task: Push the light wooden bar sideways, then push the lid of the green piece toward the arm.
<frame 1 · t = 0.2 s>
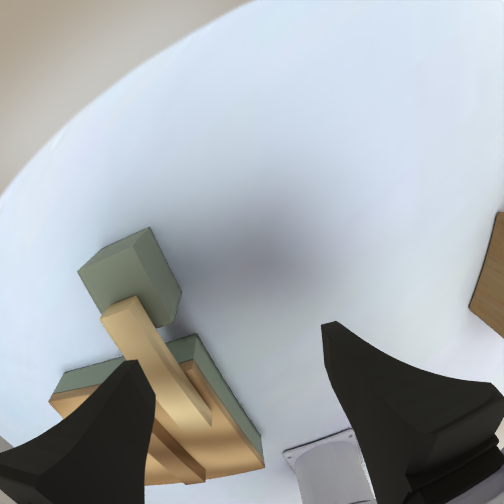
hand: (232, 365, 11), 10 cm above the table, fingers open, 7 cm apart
green piece: (163, 411, 25), on the table
lid: (157, 447, 20), point 4 cm above the table, slide at 0.0 cm
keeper: (140, 270, 20), on the table
light wooden bar: (161, 374, 17), point 5 cm above the table, slide at 0.0 cm
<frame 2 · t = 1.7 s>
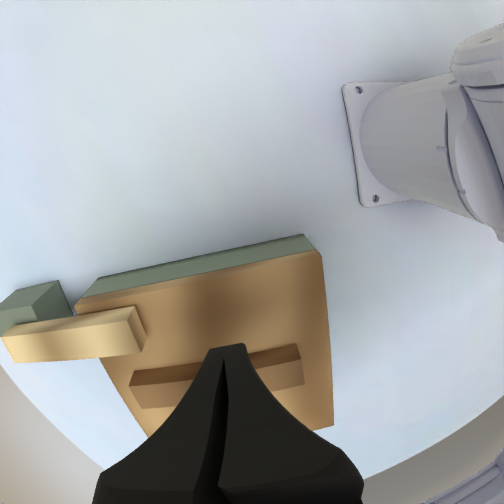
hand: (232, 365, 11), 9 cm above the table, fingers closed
green piece: (220, 346, 21), on the table
lid: (219, 386, 17), point 4 cm above the table, slide at 0.0 cm
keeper: (45, 308, 20), on the table
light wooden bar: (64, 339, 15), point 5 cm above the table, slide at 0.0 cm
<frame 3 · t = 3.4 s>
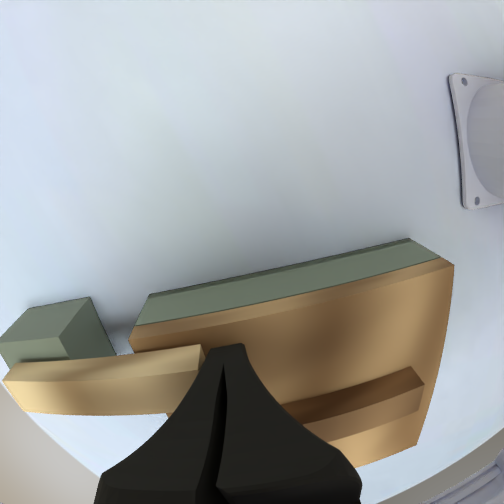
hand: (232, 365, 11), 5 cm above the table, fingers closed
green piece: (301, 371, 17), on the table
lid: (319, 424, 13), point 4 cm above the table, slide at 0.0 cm
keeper: (69, 332, 15), on the table
light wooden bar: (93, 387, 11), point 5 cm above the table, slide at 1.1 cm, touching gripper
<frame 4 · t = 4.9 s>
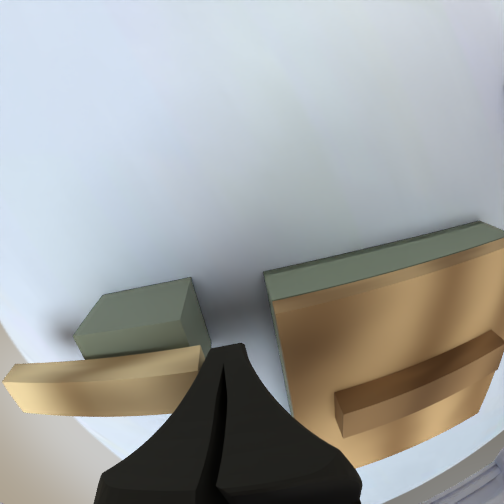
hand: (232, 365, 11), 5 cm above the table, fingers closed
green piece: (390, 346, 17), on the table
lid: (422, 389, 13), point 4 cm above the table, slide at 0.0 cm
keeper: (156, 320, 15), on the table
light wooden bar: (93, 388, 11), point 5 cm above the table, slide at 7.0 cm, touching gripper
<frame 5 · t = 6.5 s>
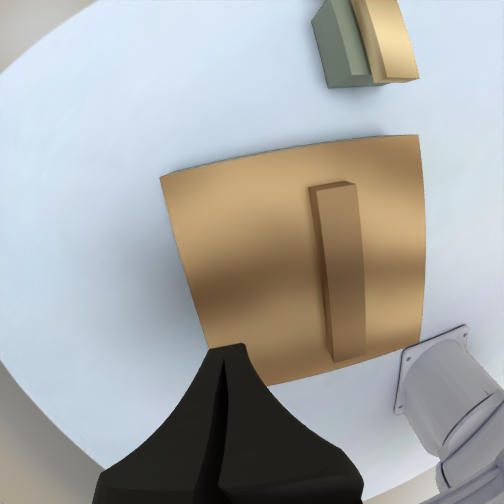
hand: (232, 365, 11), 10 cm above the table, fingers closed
green piece: (303, 253, 20), on the table
lid: (321, 279, 16), point 4 cm above the table, slide at 0.0 cm
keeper: (347, 52, 16), on the table
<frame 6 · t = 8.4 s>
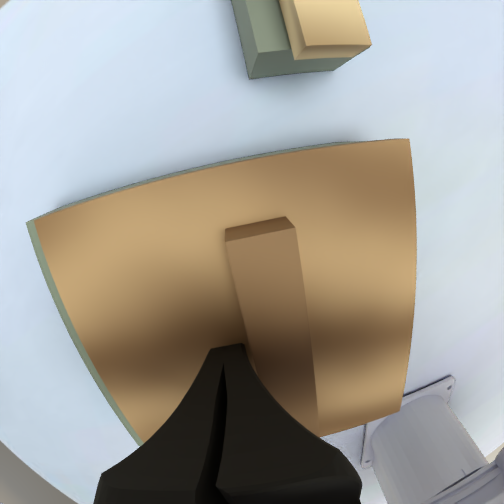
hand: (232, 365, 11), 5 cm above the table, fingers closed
green piece: (221, 308, 15), on the table
lid: (254, 355, 11), point 4 cm above the table, slide at 1.4 cm, touching gripper
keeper: (281, 27, 11), on the table
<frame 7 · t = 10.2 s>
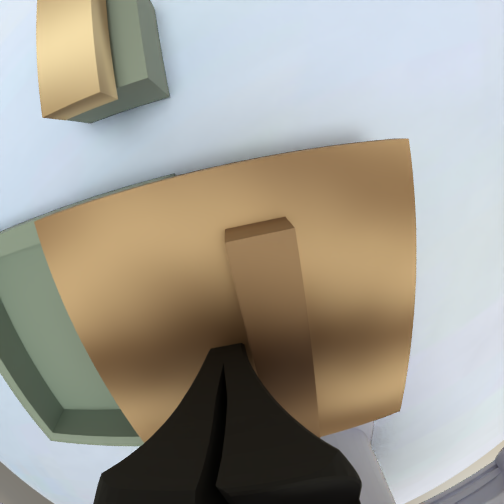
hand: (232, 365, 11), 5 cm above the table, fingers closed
green piece: (94, 330, 15), on the table
lid: (254, 355, 11), point 4 cm above the table, slide at 8.9 cm, touching gripper
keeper: (120, 62, 11), on the table
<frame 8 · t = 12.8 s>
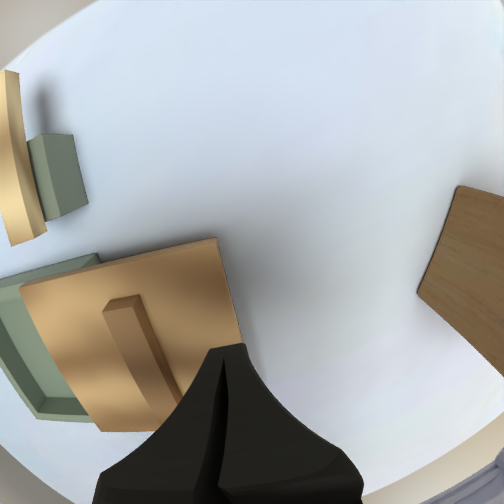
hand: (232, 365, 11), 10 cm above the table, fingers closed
green piece: (62, 344, 22), on the table
lid: (138, 367, 18), point 4 cm above the table, slide at 8.9 cm
wooden block: (469, 254, 23), on the table
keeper: (57, 177, 18), on the table
light wooden bar: (8, 155, 12), point 5 cm above the table, slide at 7.0 cm
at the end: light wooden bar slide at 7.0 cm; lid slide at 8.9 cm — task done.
